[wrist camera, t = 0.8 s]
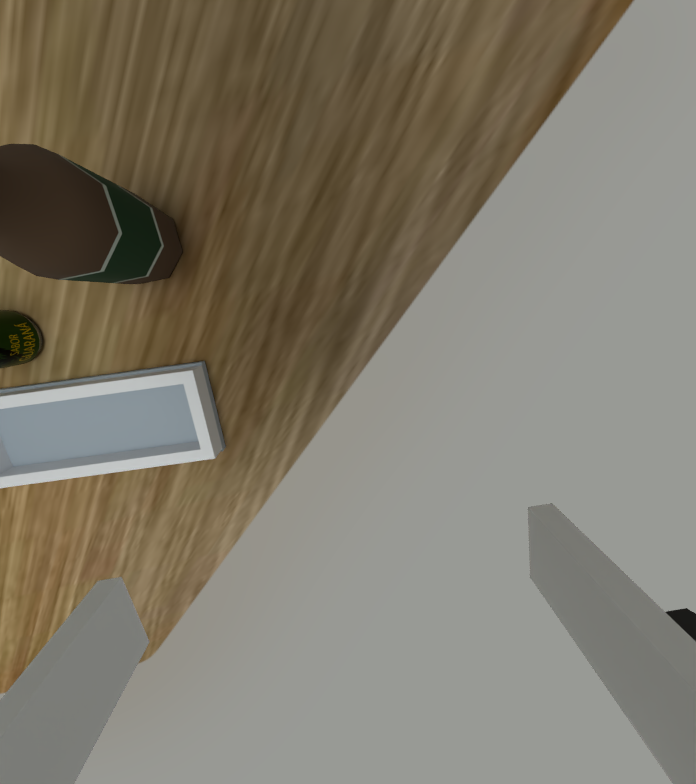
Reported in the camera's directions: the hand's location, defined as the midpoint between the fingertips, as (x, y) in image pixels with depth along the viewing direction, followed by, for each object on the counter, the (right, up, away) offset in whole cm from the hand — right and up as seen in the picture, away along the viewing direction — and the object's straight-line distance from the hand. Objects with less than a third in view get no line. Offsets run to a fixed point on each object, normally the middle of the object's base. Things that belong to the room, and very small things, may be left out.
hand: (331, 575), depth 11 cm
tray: (-26, +3, +27) cm, 37 cm away
